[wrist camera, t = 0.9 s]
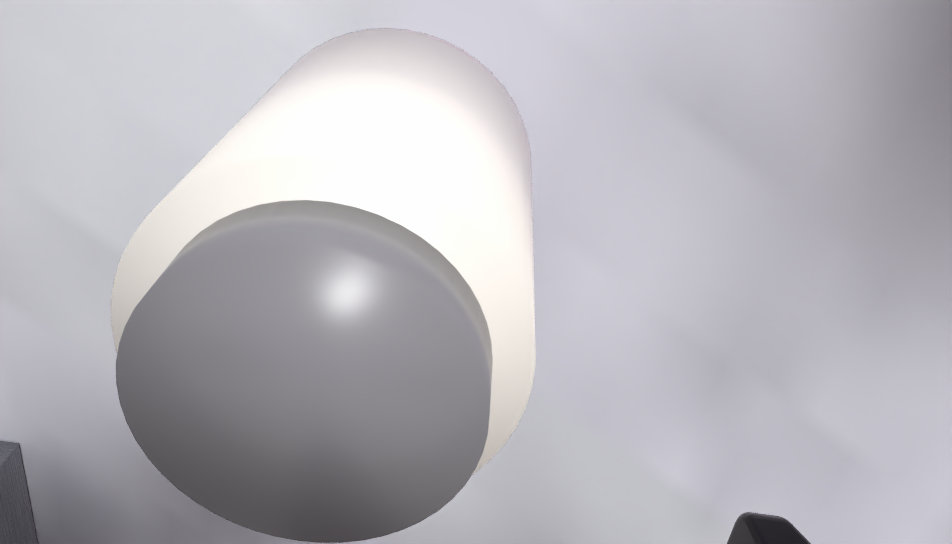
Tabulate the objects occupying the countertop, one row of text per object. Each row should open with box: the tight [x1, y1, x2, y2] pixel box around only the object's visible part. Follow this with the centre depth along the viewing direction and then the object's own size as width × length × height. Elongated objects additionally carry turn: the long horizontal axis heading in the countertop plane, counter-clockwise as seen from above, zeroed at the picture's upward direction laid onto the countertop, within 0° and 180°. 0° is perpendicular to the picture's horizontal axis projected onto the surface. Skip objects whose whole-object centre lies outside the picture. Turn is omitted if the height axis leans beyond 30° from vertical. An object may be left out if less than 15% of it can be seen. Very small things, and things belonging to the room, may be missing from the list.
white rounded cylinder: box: [111, 28, 536, 543], centre depth 12 cm, size 5×5×7 cm
